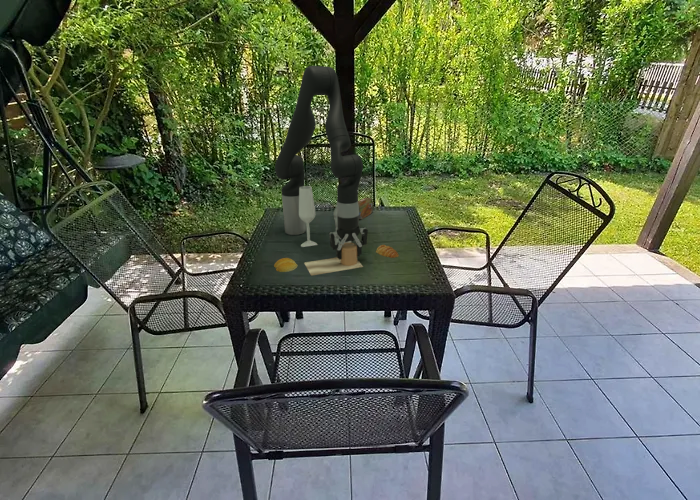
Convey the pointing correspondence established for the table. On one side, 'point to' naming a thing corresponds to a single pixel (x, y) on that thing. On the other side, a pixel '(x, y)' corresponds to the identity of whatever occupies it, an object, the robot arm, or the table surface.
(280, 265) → the bread roll
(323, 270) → the board
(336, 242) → the plastic bottle
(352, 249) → the cap
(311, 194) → the champagne flute
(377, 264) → the table surface
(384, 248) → the pastry
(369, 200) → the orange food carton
